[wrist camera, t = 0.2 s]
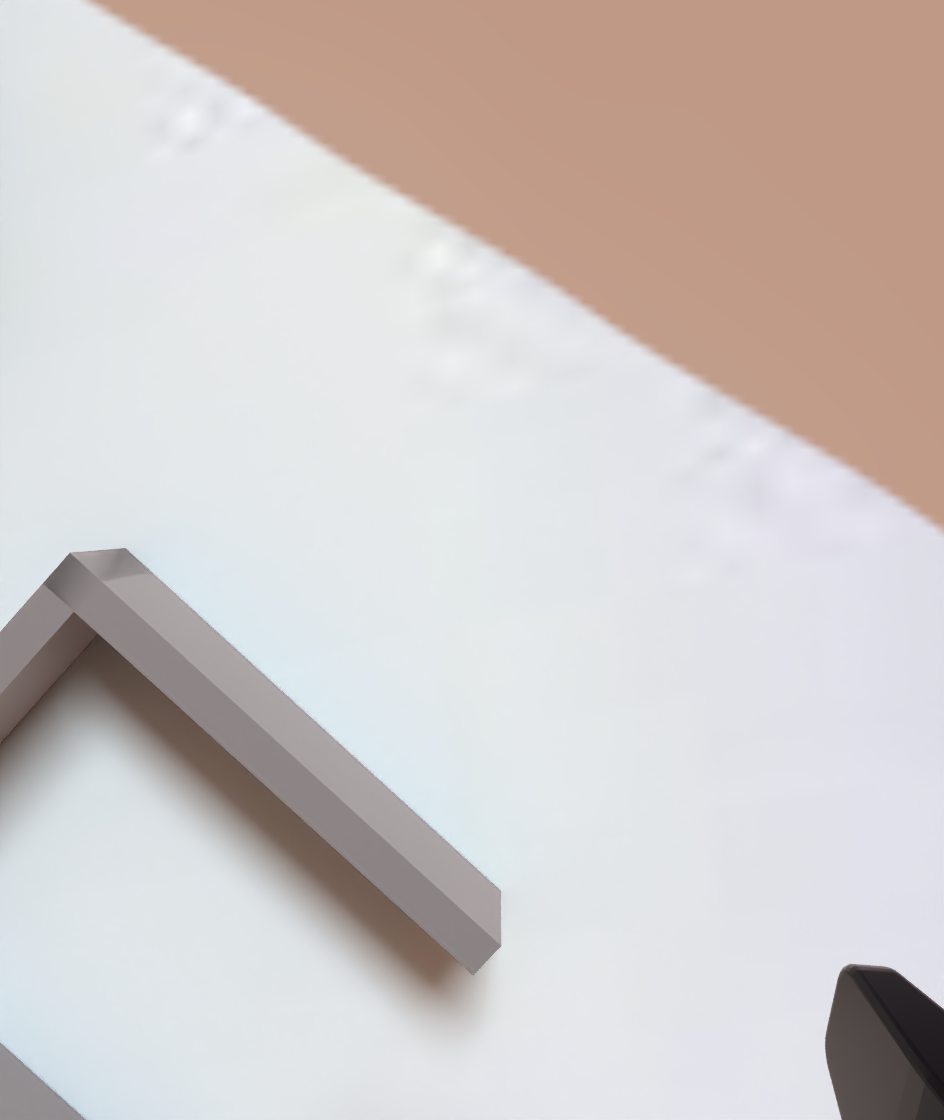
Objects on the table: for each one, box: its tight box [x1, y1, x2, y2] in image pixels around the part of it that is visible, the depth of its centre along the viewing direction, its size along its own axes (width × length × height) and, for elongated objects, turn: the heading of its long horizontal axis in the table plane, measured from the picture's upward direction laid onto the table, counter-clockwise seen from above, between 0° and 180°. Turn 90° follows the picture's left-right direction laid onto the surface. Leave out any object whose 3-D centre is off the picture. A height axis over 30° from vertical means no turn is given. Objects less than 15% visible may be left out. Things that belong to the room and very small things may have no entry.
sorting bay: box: [0, 548, 501, 1120], centre depth 22 cm, size 14×14×3 cm
